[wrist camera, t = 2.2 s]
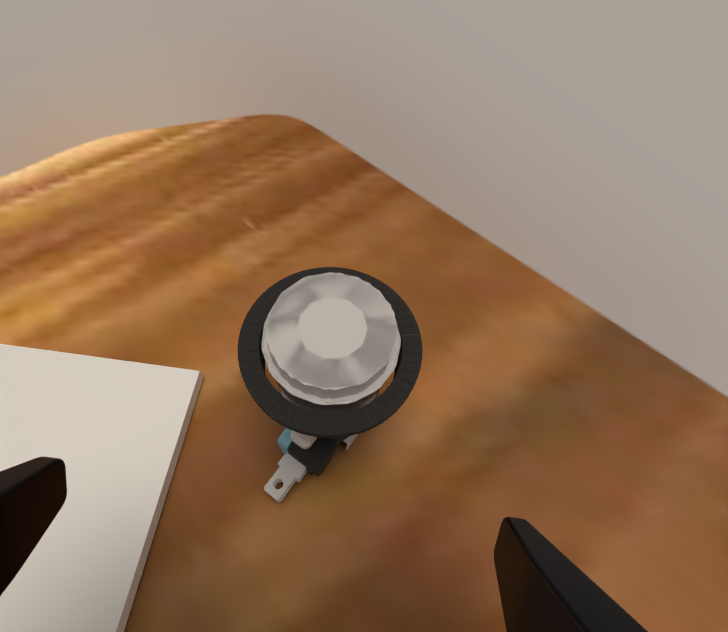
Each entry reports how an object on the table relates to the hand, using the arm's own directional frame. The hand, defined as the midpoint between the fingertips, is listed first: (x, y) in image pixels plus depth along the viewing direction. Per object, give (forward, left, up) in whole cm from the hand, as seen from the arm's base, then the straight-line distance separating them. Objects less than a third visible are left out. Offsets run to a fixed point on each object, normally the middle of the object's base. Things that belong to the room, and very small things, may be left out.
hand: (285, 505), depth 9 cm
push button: (+4, 0, -11) cm, 12 cm away
